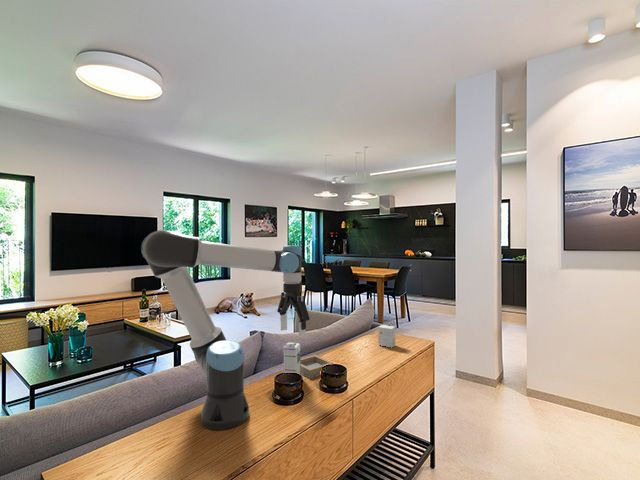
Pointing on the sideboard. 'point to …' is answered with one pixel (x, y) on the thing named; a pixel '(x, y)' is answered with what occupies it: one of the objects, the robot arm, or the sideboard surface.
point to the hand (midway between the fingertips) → (292, 333)
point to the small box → (386, 336)
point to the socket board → (313, 365)
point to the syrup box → (292, 358)
